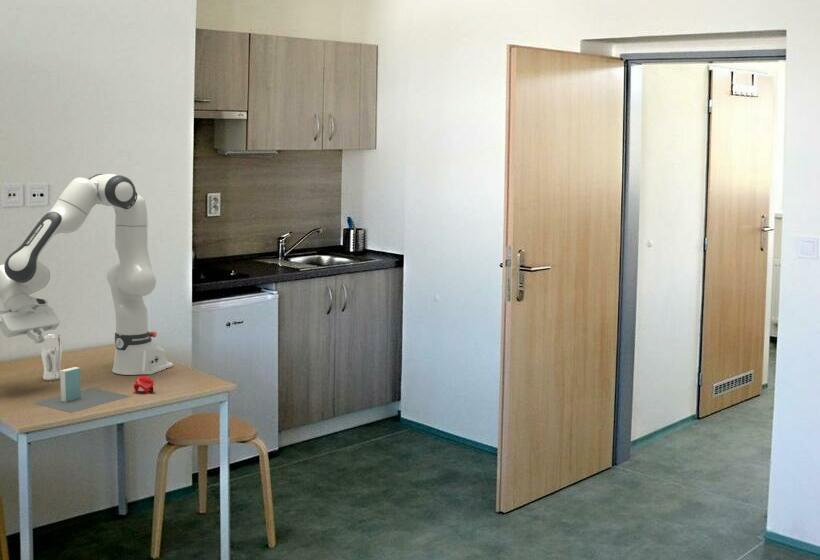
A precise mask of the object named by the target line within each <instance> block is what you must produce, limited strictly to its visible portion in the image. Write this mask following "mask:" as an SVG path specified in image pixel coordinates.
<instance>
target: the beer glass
mask: <svg viewBox="0 0 820 560" xmlns="http://www.w3.org/2000/svg"><path fill="white" fill-rule="evenodd" d="M43 336H44V337H45V341H44V342H42V343H40V355H41V360H42V364H43V375H42V380H43V381H44V380H45V381H56V380H60V370H61V361H62V354H63V348H62V347H63V346H62V345H63V344H62V335H61V334H57V333H55V334H54V333H50V334H49V333H48V334H44V335H43Z"/></svg>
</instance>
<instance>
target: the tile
mask: <svg viewBox="0 0 820 560" xmlns="http://www.w3.org/2000/svg"><path fill="white" fill-rule="evenodd" d="M81 380H82V379H81V368H80V367H77V366H72V367H68V368H65V369H60V379H59V381H60V396H61V401H63V402H68V401H72V400H75V399H79V398H81V391H82V389H81V388H82V385H81V384H82V383H81V382H82V381H81Z"/></svg>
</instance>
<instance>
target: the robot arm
mask: <svg viewBox="0 0 820 560" xmlns="http://www.w3.org/2000/svg"><path fill="white" fill-rule="evenodd" d="M97 204H98V205H101V206H102V205H103V206H106V207H112V208H113V210H114V214H115V217H114V218H115V220H114V221H115V222H114V230H115V231H114V239H115V240H114V245H115V249H116V251H117V256H118V258H119V259H118V260H119V262H115V263H113V264H112V265H111V266H110V267H108V269H107V271H106V281H107V282H108V285H109V287H110V292H111V296H112V301H113V304H114V305H113V306H114V311H115V333H114V343H115V351H114V359H113V361H114V362H113V364H112V365H113V366H112V370H111V372H112V373H113V374H117V375H123V376H126V375H127V376H135V375H136V376H137V375H138V376H139V375H153V374H155V373H159V372H161V371H164V370H166V368H167V369H169V368H172V367H174V363H173V362H171V361H168V360H167V353H166V351H165V349H164V348H162V347H161V346H159V345H158V344H157V343H156V342H155V341H153V339H152V338H156V337H157V336H158V333H157V332H156V331H148V330H149V329H148V325H149V324H148V323H149V321H148V320H149V319H148V308H147V306H146V304H145V301H144V297H146V296H149V295H150V294H152V292H153V291H154V290H155V288H156V285H157V279H156V276H155V275H154V272H153V269H152V265H151V259H150V254H149V247H148V212H147V210H148V209H147V205H146V200H145V199H144V197H143V196H141V195H140V194H138V192H137V190H136V186H135V184H134V182H133V181H132V180H131V179H130V178H128V177H127V176H124V175H121V174H115V173H106V174H105V173H99V174H98V173H97V174H94V175H92V176H90V177H89V178H86V177H80V176H79V177H75V178H73V179H72V180H71V182H69V184H68V185H67V186H66V187H65V188H64V190H63V191H62V192H61V194H60V196H59V197H58V198H57V200H56V202H55V203H54V205H53V206H52V207H51V209H50V210H49V211H48V212H47V213H45V214H44V215H43V216H42V217H41V218H40V220H39V221H38V222H37V224H36V225H35V226H34V228H33V229H31V231H30V232H29V234H28V236H27V237H25V239H24V241H23V242H22V244H21V245H19V247H18V248H16V249H15V250H14V251H13V252H11V253H10V254H9V255H8V257H7V258H6V260H5V262H4V263H3V264H0V301H1V303H2V306H3V309H4V310H3V311H2V310H0V330H1V332H2V334H3V335H4V336H5V337H6V338H12V337H16V336H23V335H26V336H27V338H30V339H31V340H33V341H34V343H35V344H41V343H42V342H44V341H45V337H44V336H43V335H45V334H44V333H45V332H47V331H53V330H56V329H57V328H58V327H59V326H60V324H61V320H60V318H59V316H58V315H57V313H56V312H55V310H54V309H53V308H52V307H51V306H49V301H48V300H47V299H44V298H39V297H34V296H31V294H34V293H35V292H38V291H40V290H42V289H44V288H45V287H46V286H47V285H48V283H49V281H50V278H51V272H50V270H49V268H48V267H47V266H46V265H45V264H43V263H42V261H39V256H40V254H41V253H42V251H43V250H44V249H45V248H46V246H47V245H48V244H49V242H50V240H51V239H52V238H53V237H54V236H56V235H58V234H72V233H74V232H77V231H78V230H79V229H80V228H81V227H82V226H83V224H84V223H85V221H86V220H87V218H88V216H89V214H90V212H91V211H92V209H93V208H94V206H96V205H97Z"/></svg>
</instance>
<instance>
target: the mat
mask: <svg viewBox="0 0 820 560" xmlns="http://www.w3.org/2000/svg"><path fill="white" fill-rule="evenodd" d="M130 397H131V395H126V394H123V393H120V392H119V393H117V392H113V391H109V390H103V389H101V388H100V389H99V388H95V387H90V388H87V389H83V390H82V389H81V398H79V399H75V400H72V401H68V402H63V401H61V395H60V396H56V397H52V398H48V399H45V400H40V401H37V402H33V405H38V406H40V407H46V408H50V409H54V410H57V411H62V412H67V413H70V414H72V413H76V412H80V411H83V410H87V409H90V408H95V407H97V406H101V405H104V404H109V403H112V402H116V401H119V400H124V399H126V398H130Z"/></svg>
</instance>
